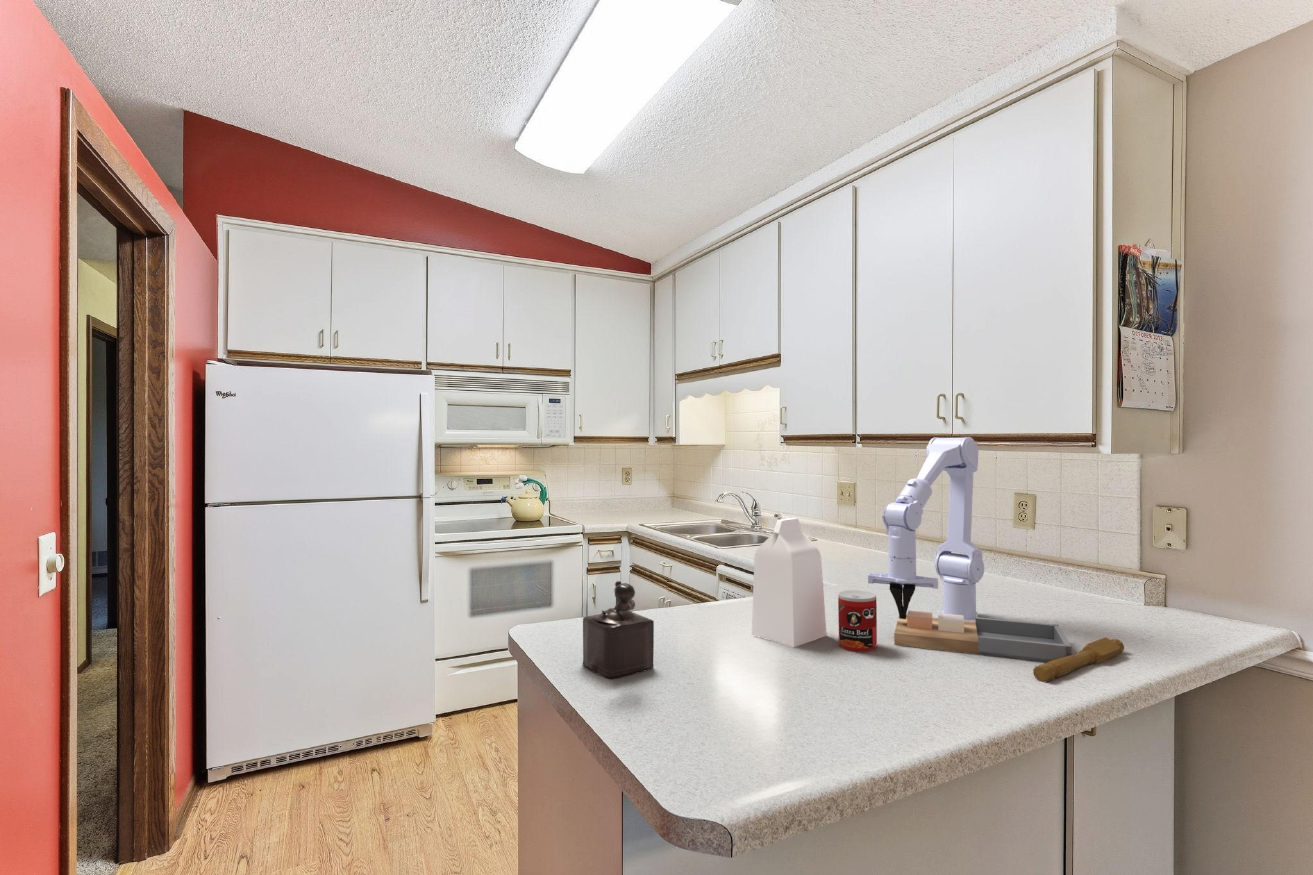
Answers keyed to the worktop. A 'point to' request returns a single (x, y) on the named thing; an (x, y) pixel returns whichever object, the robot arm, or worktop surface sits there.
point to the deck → (937, 637)
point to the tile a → (919, 619)
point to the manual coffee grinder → (618, 638)
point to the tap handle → (1079, 659)
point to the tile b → (950, 623)
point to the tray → (1021, 640)
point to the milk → (788, 587)
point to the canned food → (857, 620)
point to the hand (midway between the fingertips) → (902, 617)
